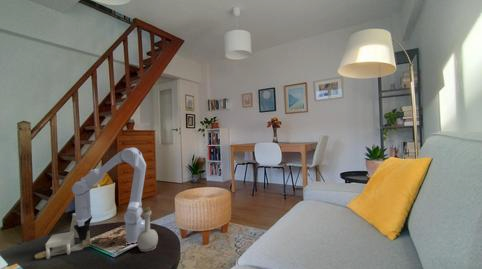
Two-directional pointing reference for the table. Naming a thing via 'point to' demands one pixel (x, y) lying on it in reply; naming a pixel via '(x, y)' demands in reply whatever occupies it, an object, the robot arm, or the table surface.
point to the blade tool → (72, 246)
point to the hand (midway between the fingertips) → (84, 236)
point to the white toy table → (60, 242)
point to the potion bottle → (147, 234)
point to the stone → (73, 226)
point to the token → (40, 255)
